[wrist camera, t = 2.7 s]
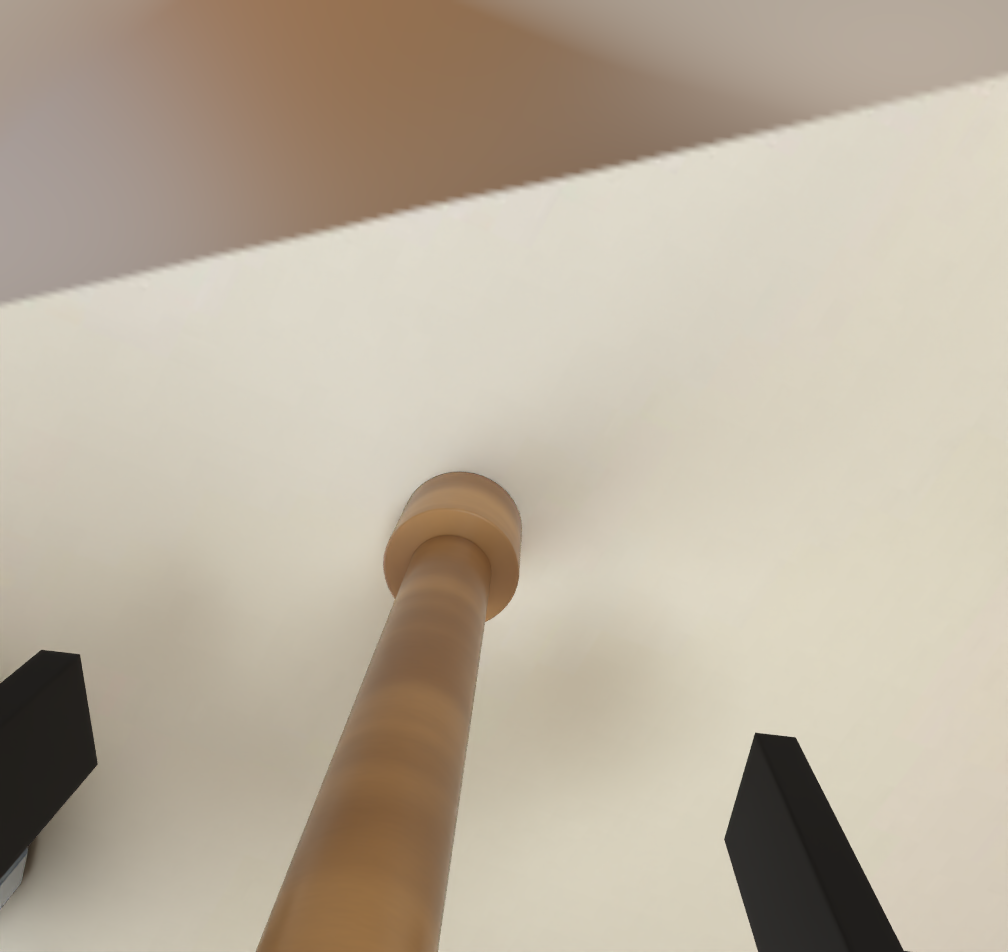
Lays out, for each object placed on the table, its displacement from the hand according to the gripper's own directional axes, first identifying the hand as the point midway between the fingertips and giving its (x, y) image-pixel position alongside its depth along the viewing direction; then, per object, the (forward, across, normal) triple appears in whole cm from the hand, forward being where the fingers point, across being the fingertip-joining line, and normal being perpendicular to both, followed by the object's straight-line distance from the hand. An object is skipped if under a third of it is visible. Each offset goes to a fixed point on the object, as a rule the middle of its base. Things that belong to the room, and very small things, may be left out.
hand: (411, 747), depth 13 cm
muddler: (+10, 0, 0) cm, 10 cm away
